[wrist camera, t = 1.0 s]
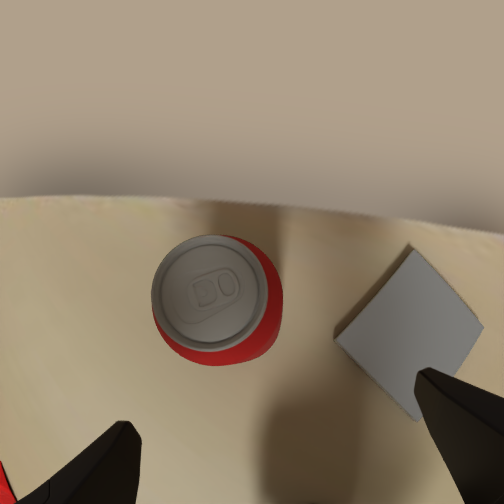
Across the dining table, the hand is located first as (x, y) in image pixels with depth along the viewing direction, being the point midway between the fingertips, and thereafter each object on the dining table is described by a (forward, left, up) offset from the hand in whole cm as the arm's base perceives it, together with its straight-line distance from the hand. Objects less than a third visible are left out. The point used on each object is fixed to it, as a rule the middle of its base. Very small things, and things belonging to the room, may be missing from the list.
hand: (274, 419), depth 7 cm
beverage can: (+1, +6, -16) cm, 17 cm away
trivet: (+11, -6, -16) cm, 20 cm away
